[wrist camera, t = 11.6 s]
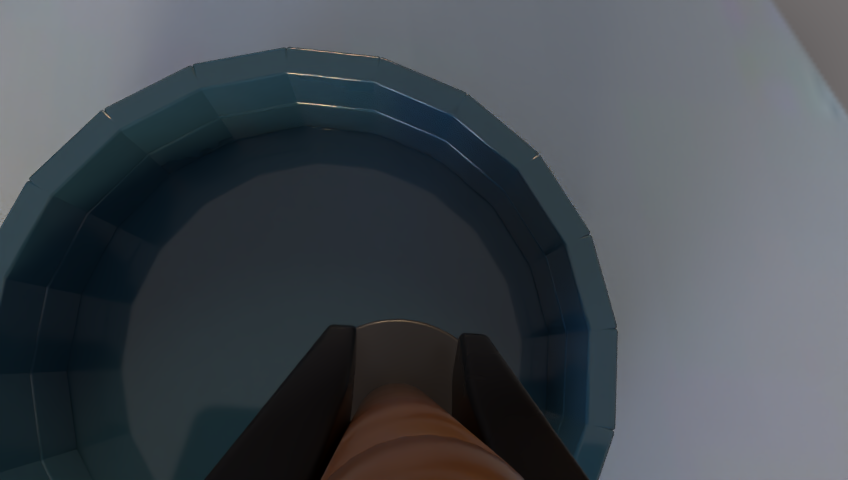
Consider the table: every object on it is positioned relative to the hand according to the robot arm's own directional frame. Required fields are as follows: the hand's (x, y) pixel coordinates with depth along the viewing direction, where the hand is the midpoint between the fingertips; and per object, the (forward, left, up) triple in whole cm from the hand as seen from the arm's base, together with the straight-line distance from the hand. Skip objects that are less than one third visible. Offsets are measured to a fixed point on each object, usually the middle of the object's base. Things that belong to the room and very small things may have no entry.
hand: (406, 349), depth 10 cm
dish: (+1, +2, -9) cm, 9 cm away
